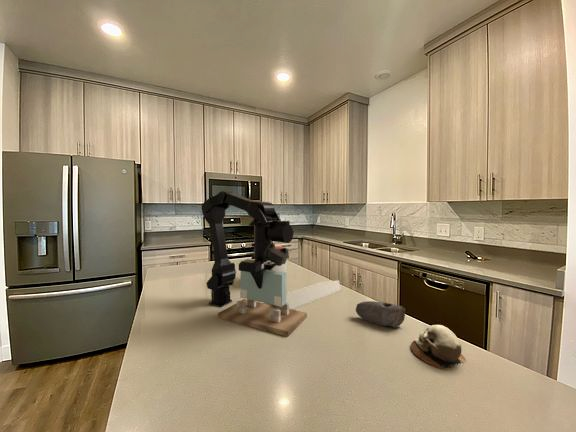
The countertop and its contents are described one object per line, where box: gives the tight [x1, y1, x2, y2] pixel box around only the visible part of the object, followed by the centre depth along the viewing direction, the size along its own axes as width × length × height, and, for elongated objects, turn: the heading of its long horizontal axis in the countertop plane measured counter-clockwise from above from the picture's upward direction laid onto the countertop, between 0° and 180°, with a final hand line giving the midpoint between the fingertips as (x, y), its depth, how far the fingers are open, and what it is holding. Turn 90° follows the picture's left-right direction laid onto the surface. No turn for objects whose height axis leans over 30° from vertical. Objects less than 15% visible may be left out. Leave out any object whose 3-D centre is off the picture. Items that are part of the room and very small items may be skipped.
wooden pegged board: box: [217, 298, 308, 338], centre depth 82 cm, size 26×14×5 cm, turn 63°
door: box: [239, 270, 287, 307], centre depth 81 cm, size 16×3×10 cm, turn 63°
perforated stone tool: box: [355, 300, 406, 329], centre depth 78 cm, size 15×5×7 cm, turn 54°
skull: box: [410, 324, 468, 371], centre depth 62 cm, size 12×10×10 cm
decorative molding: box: [265, 280, 342, 310], centre depth 100 cm, size 34×5×10 cm
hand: (262, 286), depth 81 cm, fingers closed on door, 3 cm apart
